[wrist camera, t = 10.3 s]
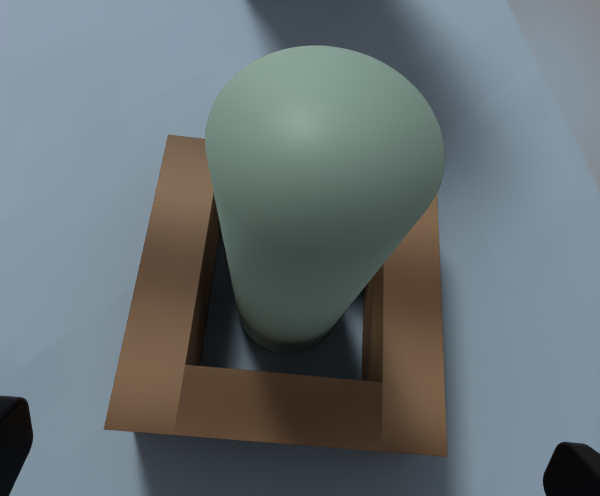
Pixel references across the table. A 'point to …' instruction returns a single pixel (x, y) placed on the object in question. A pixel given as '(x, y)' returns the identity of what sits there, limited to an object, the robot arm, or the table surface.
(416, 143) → the sage peg
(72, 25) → the table surface
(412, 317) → the square wooden frame
